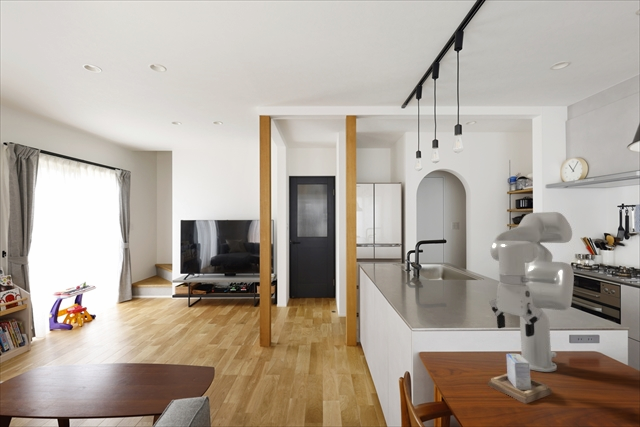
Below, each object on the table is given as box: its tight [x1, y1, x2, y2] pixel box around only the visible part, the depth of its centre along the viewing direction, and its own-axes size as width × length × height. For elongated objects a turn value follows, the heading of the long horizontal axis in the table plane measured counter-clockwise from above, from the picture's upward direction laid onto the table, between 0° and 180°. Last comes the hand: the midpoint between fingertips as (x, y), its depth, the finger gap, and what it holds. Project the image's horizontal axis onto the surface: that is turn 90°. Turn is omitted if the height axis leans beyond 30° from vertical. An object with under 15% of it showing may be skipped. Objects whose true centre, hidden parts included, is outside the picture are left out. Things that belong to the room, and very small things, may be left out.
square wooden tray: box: [487, 373, 552, 404], centre depth 107 cm, size 13×12×2 cm
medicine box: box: [505, 353, 532, 390], centre depth 107 cm, size 8×4×9 cm, turn 168°
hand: (515, 331), depth 108 cm, fingers open, 9 cm apart
